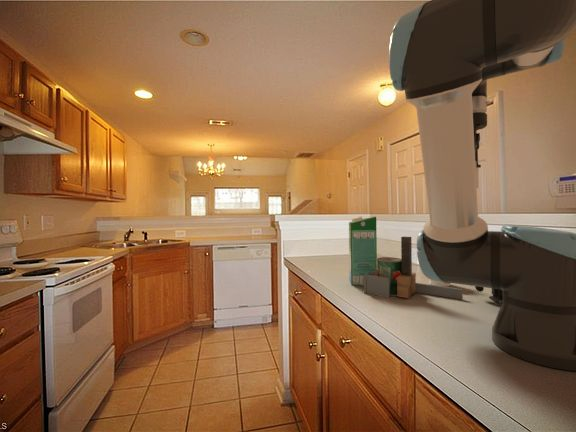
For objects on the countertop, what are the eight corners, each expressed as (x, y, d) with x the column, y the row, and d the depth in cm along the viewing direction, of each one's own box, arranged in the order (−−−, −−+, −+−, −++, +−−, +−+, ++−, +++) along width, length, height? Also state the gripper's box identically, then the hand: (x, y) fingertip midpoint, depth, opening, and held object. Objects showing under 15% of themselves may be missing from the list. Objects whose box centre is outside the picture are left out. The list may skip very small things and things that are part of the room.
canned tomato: (404, 296, 87) (404, 261, 87) (377, 295, 89) (377, 260, 89) (401, 289, 94) (400, 257, 94) (376, 288, 96) (376, 256, 96)
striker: (407, 298, 84) (407, 238, 83) (397, 296, 85) (396, 237, 85) (415, 291, 91) (415, 236, 90) (406, 289, 92) (405, 235, 92)
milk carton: (349, 279, 110) (348, 216, 110) (372, 279, 109) (372, 216, 108) (351, 285, 101) (350, 216, 101) (377, 285, 100) (376, 216, 99)
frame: (456, 310, 74) (456, 287, 74) (364, 293, 91) (363, 274, 91) (462, 299, 84) (462, 279, 84) (378, 285, 100) (377, 269, 100)
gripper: (486, 98, 70) (486, 182, 71) (487, 123, 91) (488, 188, 91) (452, 105, 75) (452, 184, 75) (460, 128, 95) (461, 190, 95)
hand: (472, 187), depth 83 cm, fingers open, 13 cm apart
